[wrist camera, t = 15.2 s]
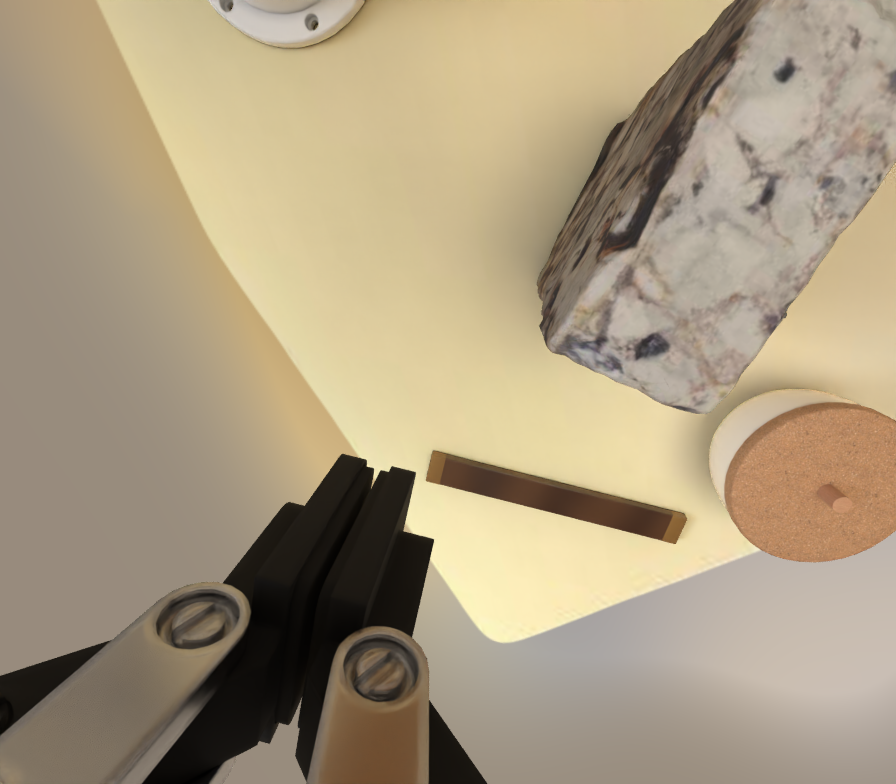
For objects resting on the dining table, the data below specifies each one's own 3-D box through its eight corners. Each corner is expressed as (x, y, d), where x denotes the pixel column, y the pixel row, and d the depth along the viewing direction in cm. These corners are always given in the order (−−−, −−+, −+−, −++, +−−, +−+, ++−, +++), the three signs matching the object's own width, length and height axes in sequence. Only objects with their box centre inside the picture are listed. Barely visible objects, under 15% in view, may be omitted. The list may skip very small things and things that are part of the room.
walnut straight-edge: (426, 476, 41) (425, 481, 41) (433, 450, 40) (431, 454, 40) (672, 538, 41) (675, 544, 40) (684, 513, 40) (687, 519, 39)
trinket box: (802, 512, 39) (889, 599, 30) (666, 481, 39) (713, 557, 30) (869, 387, 35) (992, 444, 26) (719, 354, 35) (790, 398, 26)
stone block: (613, 323, 35) (733, 441, 17) (523, 288, 35) (541, 367, 17) (709, 128, 31) (1026, -12, 12) (606, 88, 31) (762, -118, 12)
